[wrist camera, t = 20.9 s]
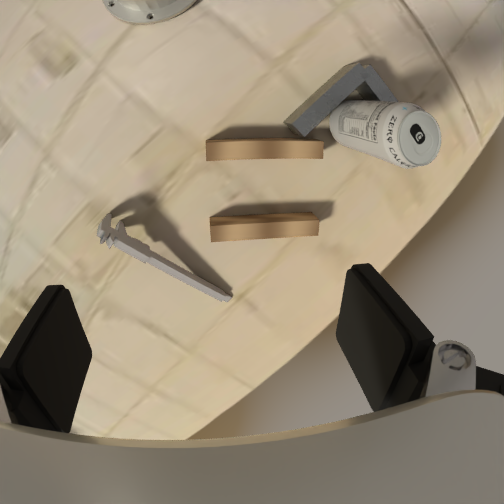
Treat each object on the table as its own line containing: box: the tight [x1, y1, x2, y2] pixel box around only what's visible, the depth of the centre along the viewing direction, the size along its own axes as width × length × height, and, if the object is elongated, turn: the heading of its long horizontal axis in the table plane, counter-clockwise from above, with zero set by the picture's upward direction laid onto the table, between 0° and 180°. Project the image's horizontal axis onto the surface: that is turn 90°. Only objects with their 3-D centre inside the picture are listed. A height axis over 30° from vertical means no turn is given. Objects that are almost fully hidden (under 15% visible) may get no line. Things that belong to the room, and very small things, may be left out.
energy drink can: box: [329, 100, 441, 169], centre depth 28 cm, size 6×6×15 cm
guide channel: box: [206, 138, 324, 242], centre depth 36 cm, size 13×12×3 cm
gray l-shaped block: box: [284, 63, 398, 137], centre depth 32 cm, size 9×17×4 cm, turn 90°
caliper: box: [97, 213, 232, 302], centre depth 37 cm, size 20×1×6 cm, turn 48°
